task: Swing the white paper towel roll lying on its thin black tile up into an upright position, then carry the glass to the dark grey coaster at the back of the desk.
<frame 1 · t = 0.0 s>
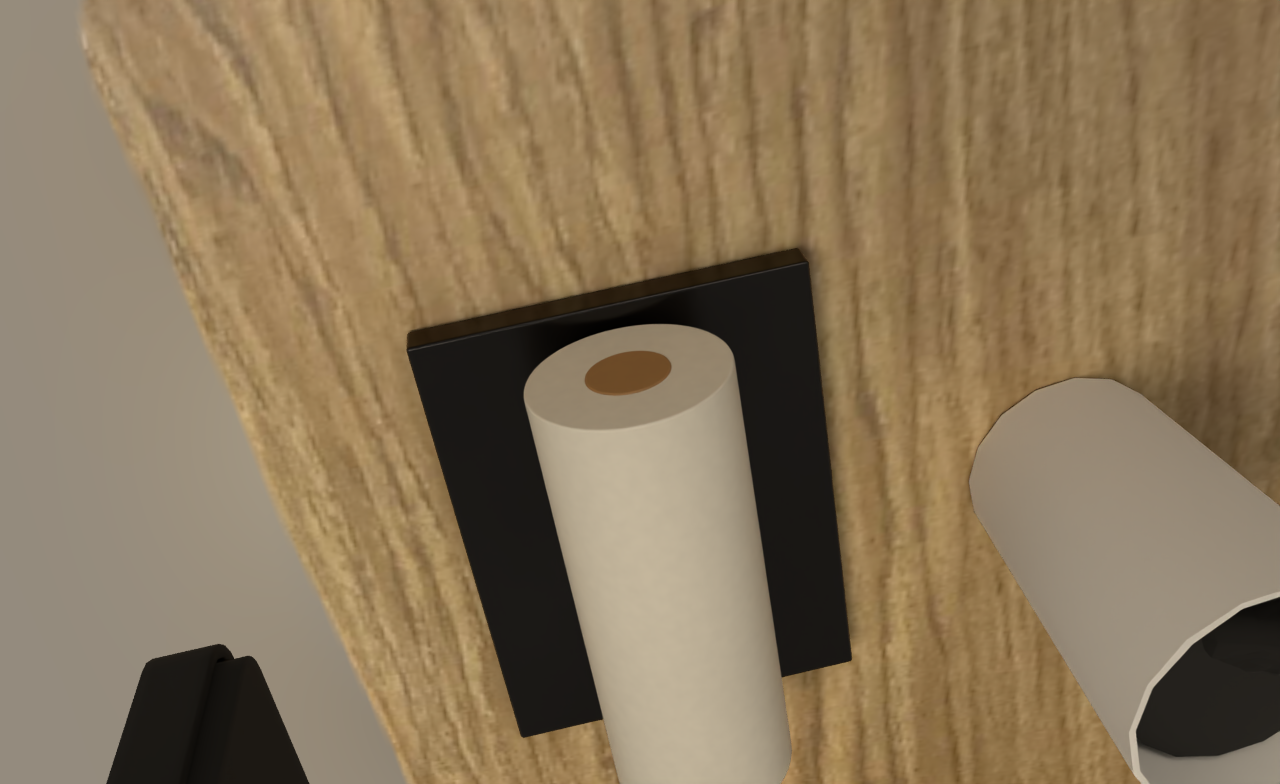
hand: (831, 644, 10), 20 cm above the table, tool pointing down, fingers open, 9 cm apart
towel roll: (669, 582, 30), point 4 cm above the table, hinge at 0.0°
thin black tile: (646, 501, 33), on the table
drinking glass: (1062, 462, 35), on the table
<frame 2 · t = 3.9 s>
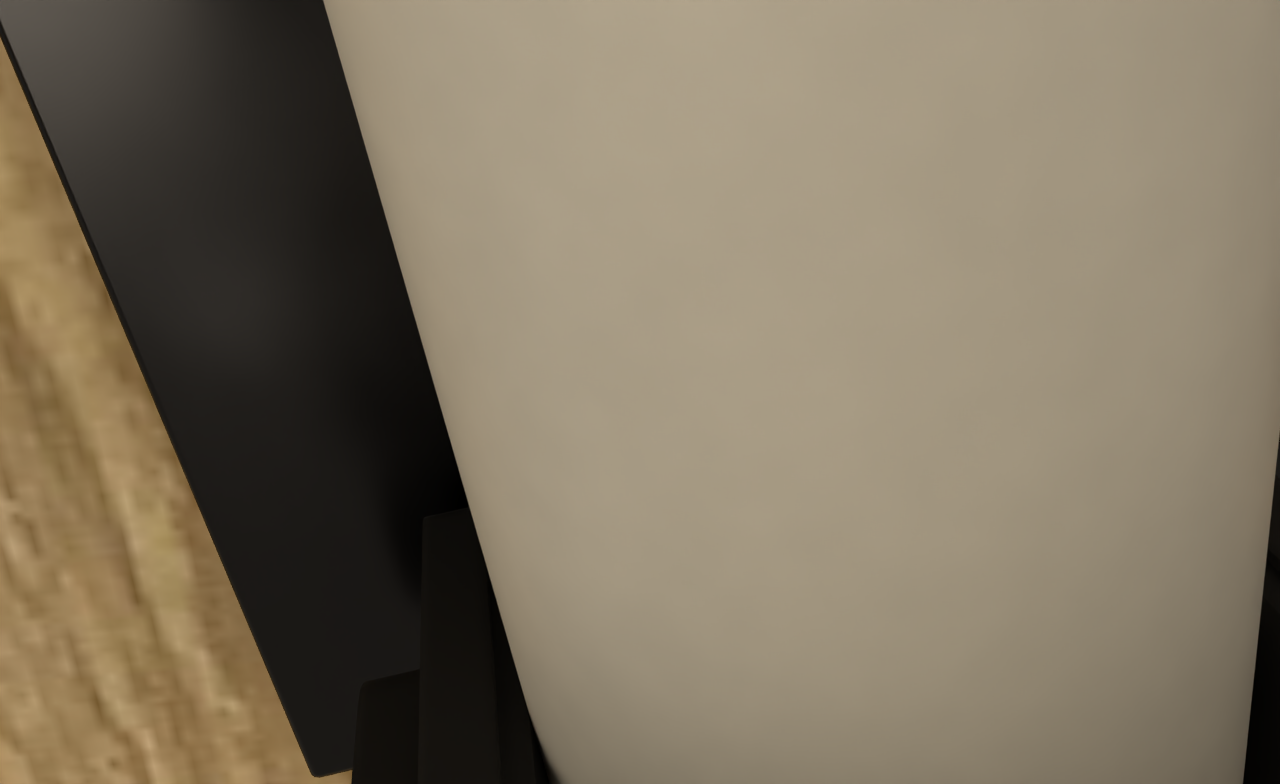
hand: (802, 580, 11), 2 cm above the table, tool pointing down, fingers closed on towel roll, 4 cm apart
towel roll: (815, 104, 7), point 4 cm above the table, hinge at 0.0°, touching gripper
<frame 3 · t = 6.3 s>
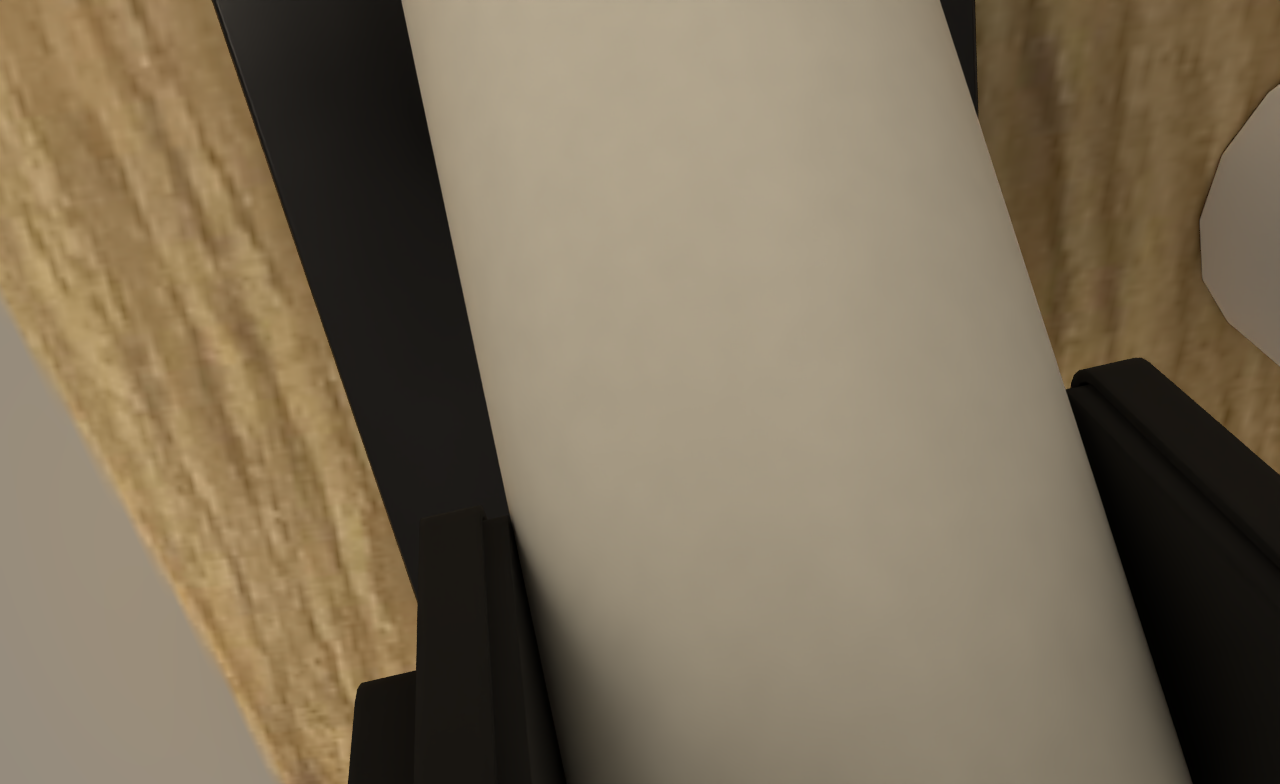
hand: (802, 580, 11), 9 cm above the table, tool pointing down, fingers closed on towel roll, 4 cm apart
towel roll: (716, 211, 11), point 7 cm above the table, hinge at 43.1°, touching gripper
thin black tile: (648, 242, 19), on the table
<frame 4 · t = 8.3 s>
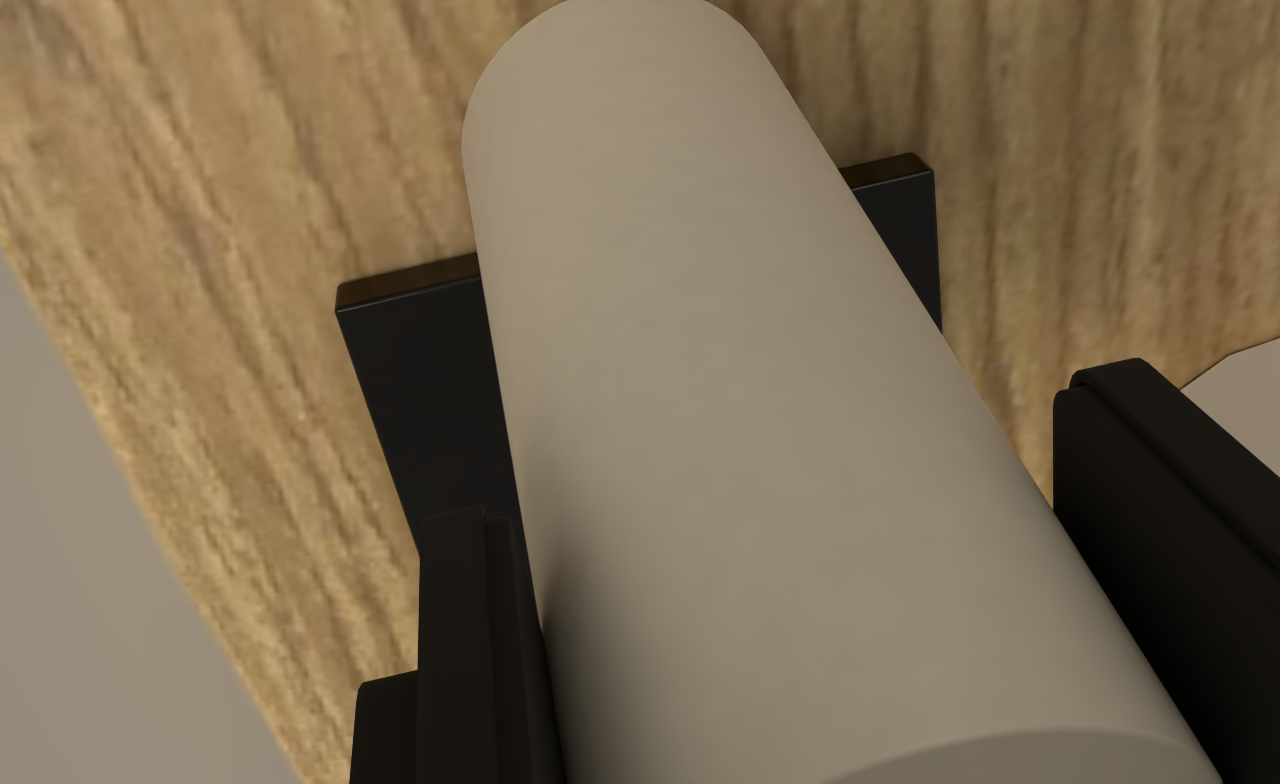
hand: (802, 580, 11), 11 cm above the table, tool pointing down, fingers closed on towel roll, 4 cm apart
towel roll: (723, 403, 13), point 8 cm above the table, hinge at 79.5°, touching gripper
thin black tile: (687, 519, 24), on the table
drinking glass: (1252, 453, 26), on the table
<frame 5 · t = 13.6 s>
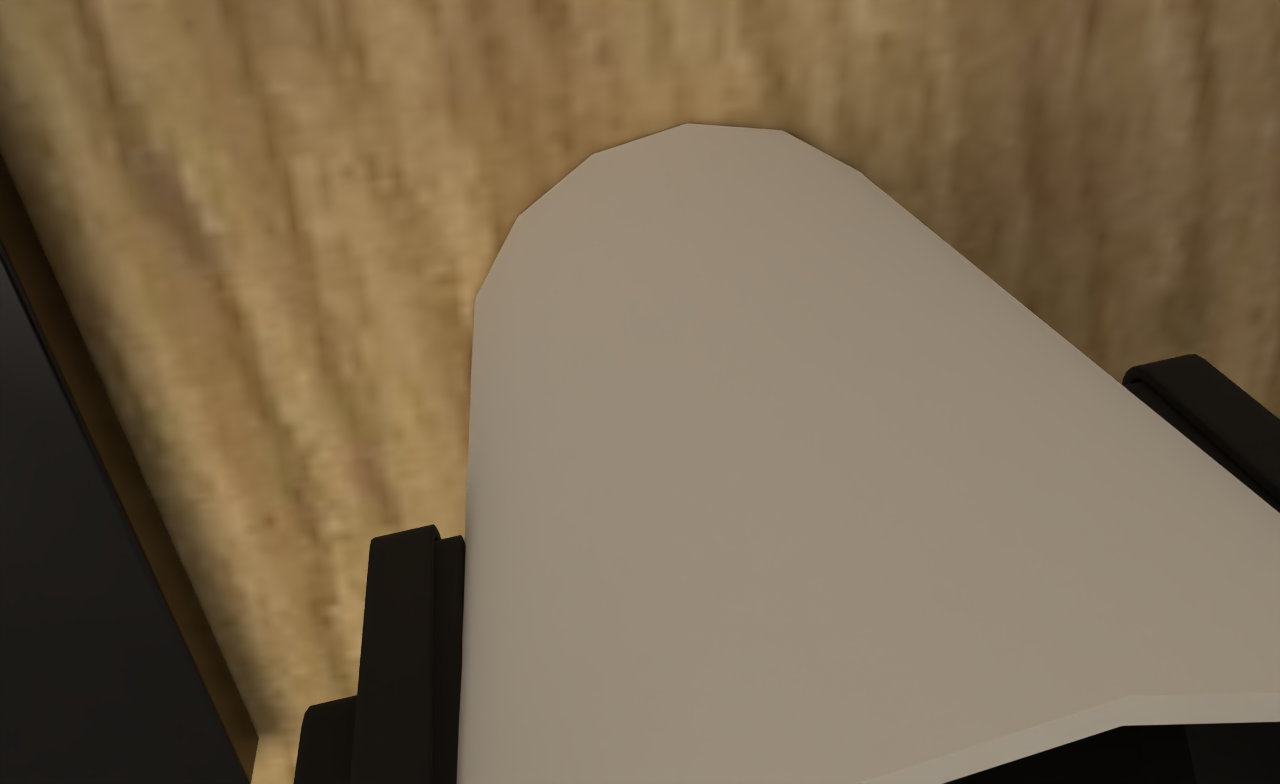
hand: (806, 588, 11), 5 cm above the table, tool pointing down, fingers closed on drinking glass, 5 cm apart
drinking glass: (698, 343, 15), on the table, touching gripper
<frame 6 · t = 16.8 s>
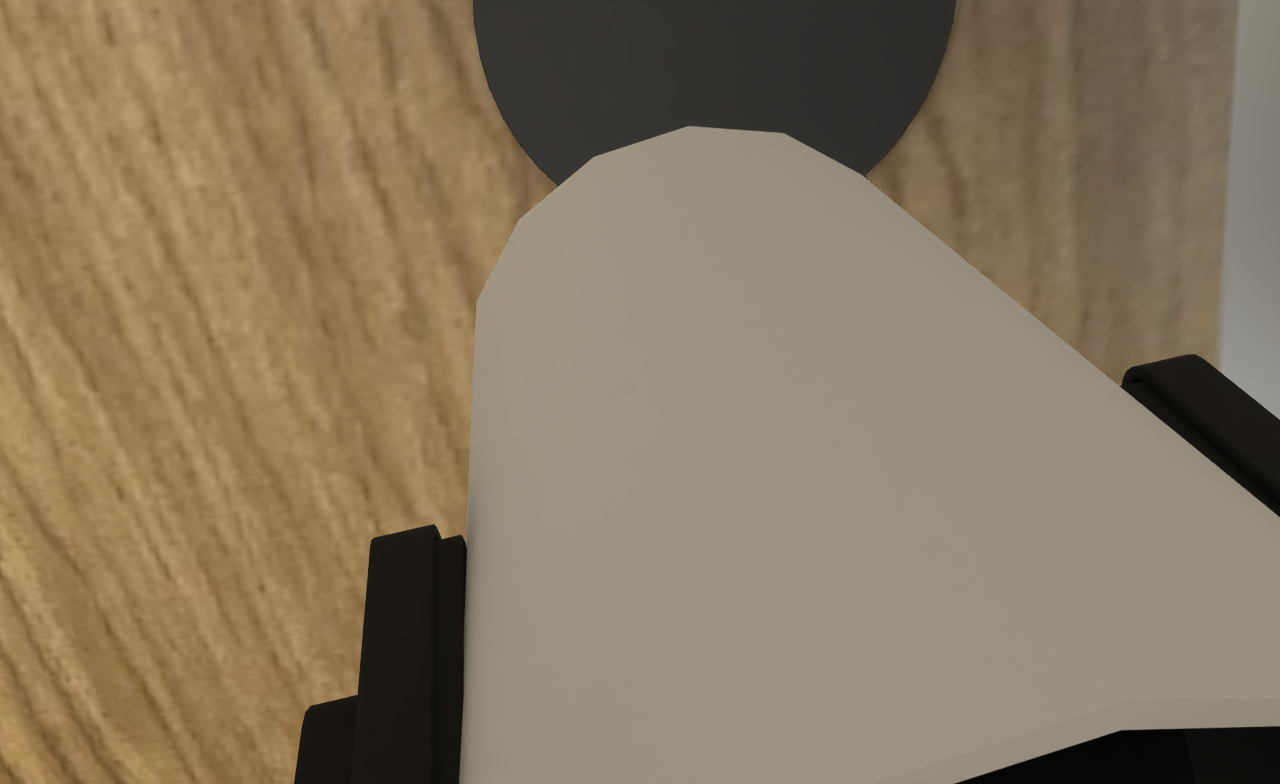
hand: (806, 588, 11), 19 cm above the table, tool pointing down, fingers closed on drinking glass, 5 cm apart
coaster: (717, 3, 27), on the table
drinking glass: (699, 345, 15), point 14 cm above the table, touching gripper
when the fingers open (5 cm above the table, at t = 20.5 s): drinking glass stays where it is, resting on coaster.
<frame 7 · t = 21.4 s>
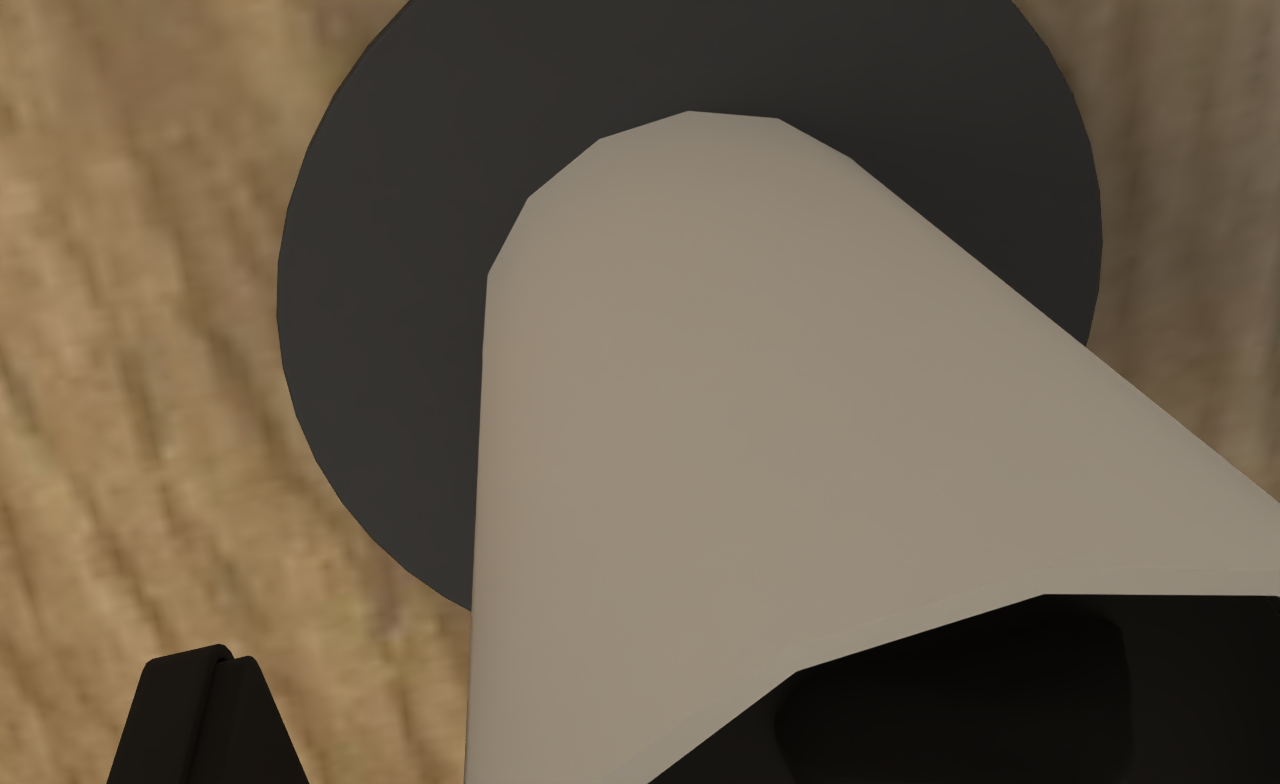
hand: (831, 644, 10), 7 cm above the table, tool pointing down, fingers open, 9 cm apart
coaster: (700, 316, 16), on the table
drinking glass: (698, 320, 16), resting on coaster
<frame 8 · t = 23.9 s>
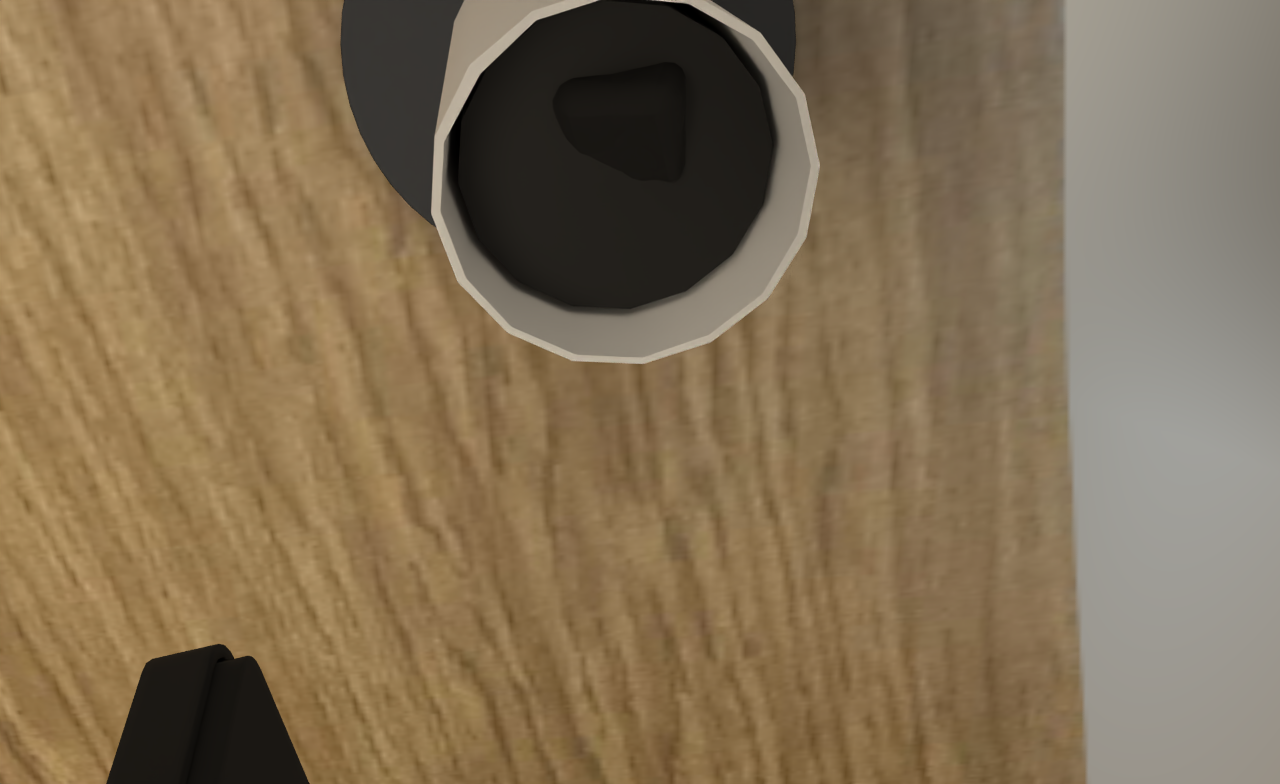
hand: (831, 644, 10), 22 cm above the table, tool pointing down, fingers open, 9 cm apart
coaster: (572, 55, 30), on the table
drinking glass: (570, 55, 29), resting on coaster
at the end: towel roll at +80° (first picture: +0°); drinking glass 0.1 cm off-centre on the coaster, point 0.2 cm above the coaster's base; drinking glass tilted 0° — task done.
